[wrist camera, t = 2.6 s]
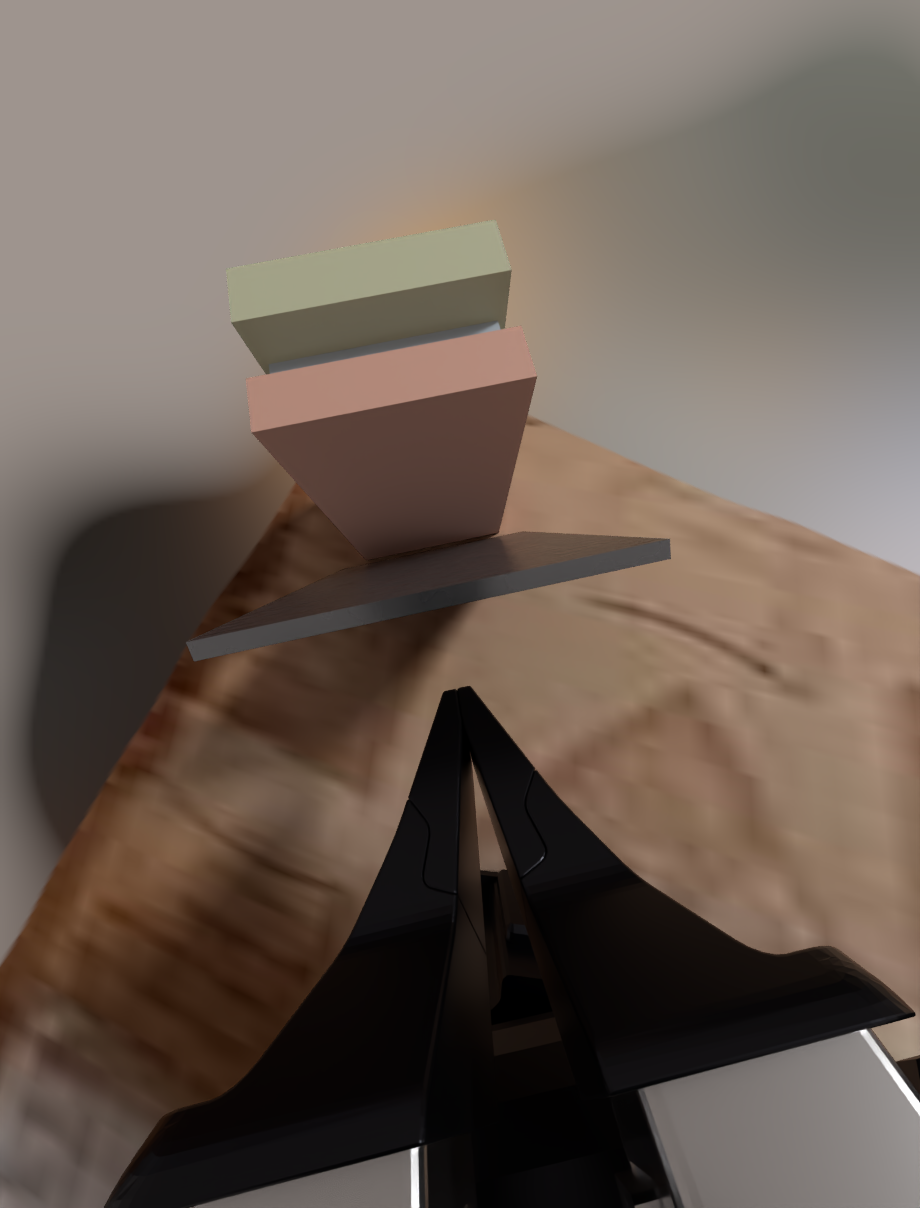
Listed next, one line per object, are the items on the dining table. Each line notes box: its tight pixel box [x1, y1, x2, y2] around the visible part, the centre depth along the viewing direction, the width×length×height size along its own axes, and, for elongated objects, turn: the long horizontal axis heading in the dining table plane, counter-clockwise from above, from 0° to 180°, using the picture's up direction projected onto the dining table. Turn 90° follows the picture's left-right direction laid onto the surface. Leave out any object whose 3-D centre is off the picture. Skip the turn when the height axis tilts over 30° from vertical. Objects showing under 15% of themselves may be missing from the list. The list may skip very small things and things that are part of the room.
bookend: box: [186, 531, 671, 661], centre depth 15 cm, size 1×12×14 cm, turn 102°
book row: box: [226, 220, 537, 560], centre depth 16 cm, size 6×9×12 cm, turn 102°
